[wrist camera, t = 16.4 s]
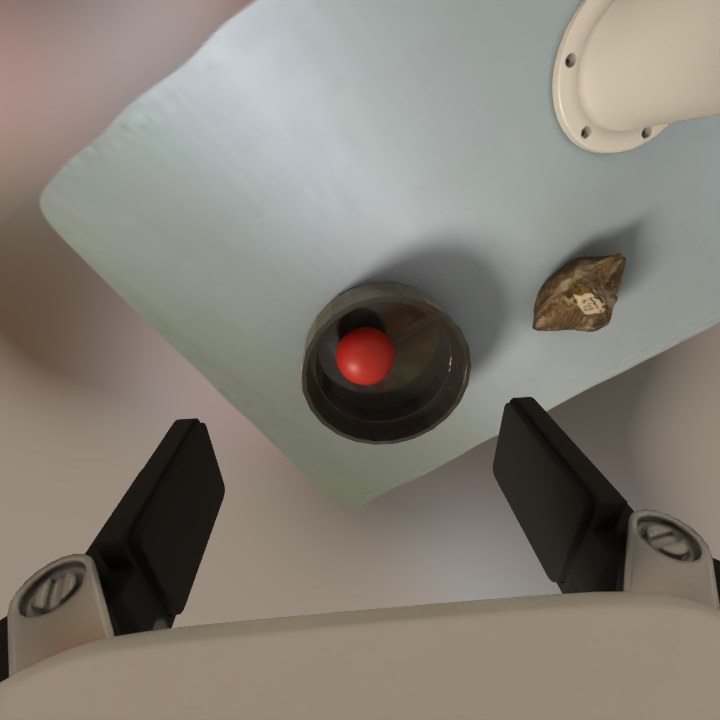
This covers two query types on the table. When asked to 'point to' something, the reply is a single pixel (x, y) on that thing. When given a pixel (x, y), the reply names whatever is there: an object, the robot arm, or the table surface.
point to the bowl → (409, 372)
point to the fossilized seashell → (580, 295)
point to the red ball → (365, 355)
